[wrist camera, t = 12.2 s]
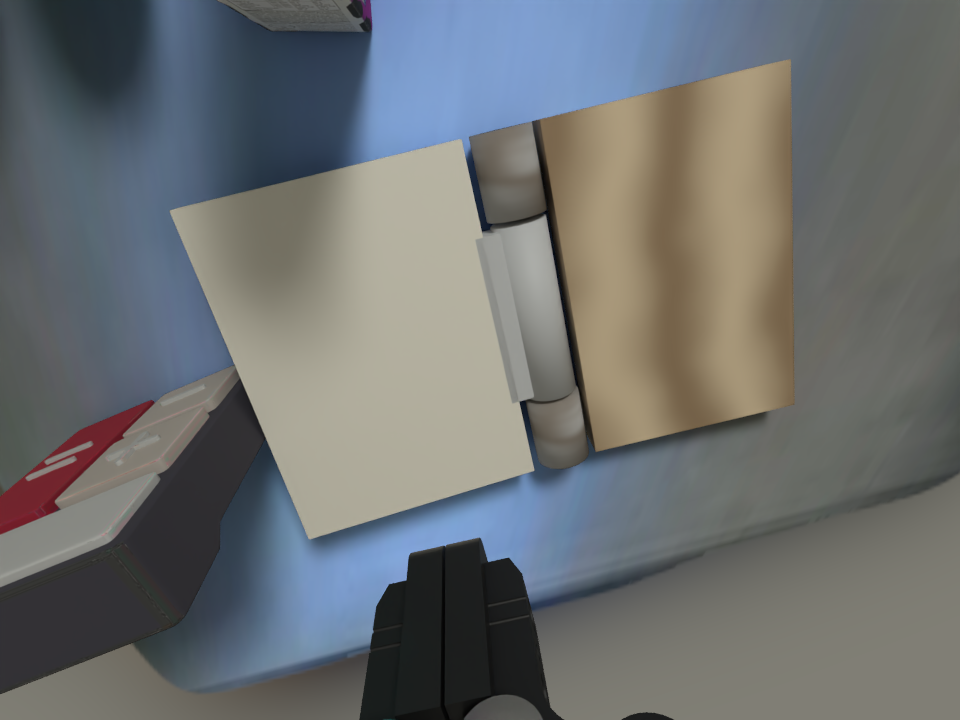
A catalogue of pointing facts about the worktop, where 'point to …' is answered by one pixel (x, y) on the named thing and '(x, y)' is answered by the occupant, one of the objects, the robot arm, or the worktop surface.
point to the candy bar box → (306, 14)
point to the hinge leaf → (383, 330)
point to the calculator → (120, 527)
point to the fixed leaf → (660, 254)
